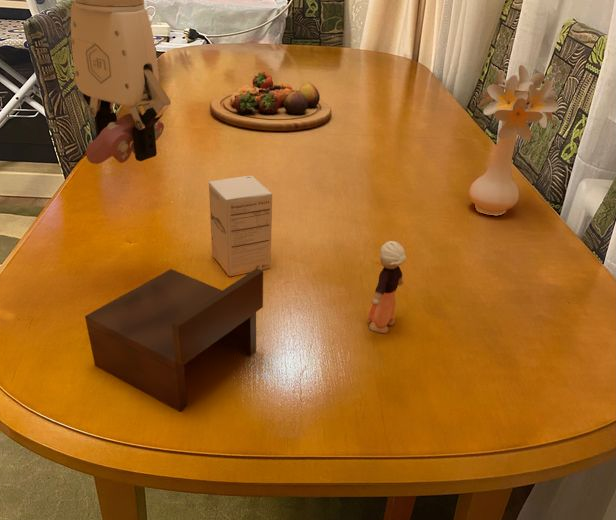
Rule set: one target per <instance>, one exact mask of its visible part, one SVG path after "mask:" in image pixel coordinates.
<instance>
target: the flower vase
mask: <svg viewBox="0 0 616 520" xmlns="http://www.w3.org/2000/svg"><path fill="white" fill-rule="evenodd" d="M505 75H506V69H504V70H503V69H500V70H499V72H498V74H497V76H496V78H495V82H494V84H493V83H492V84H489V85H488V86H487V88H486V90H485V92H484V93H483V94H482V99H483V98H484V99H483V100H482V101H481V102H480V103H479V104H478V105H477V108H479V107H481V106H482V105H485V104H486V103H488V102H490V103H489V104H487V105H486V107H485V108H484V109H483V111H482V113H483V115H485V116H490V115H493V116H494V117H495V119H496V120H498V121H500V122H501V126H500V127H501V128H500V129H499V130H498V135H497V137H498V141H497V144H496V149H495V152H494V155H493V158H492V161H491V163H490V165H489V166H488V168H487V169H486V171H485V172H484V173H483V174H481V175H480V176H479V177H476V179H475V180H473V182H472V183H471V185H470V186H469V189H468V197H469V199H470V201H471V202H472V203H473V204H475V207H476V208H477V209H478V210H479V211H482V212H484V213H488V214H500V213H503V212H505V211H506V210H507V211H508V210H510V209H512V208H513V207H514V206H515V205H517V203H518V201H519V200H520V190H519V186H518V185H517V183H516V181H515V180H514V178H513V174H512V172H513V171H512V161H513V156H514V152H515V151H514V150H515V147H516V142H517V138H518V136H519V138H520V139H522V140H523V141H529V140H530V139H531V137H532V132H531V128H530V125H529V123H530V124H533V123H537V122H538V123H539V125H540V126H541V128H542V129H546V128H547V127H548V120H549V122H550V123H553V113H556V112H557V111H558V110H559V103H558V102H557V101H555V97H556V96H555V95H556V93H555V90H554V89H553V90H552V88H553V85H554V82H555V76H552V79H551V80H549V79H548V80H545V78H546V76H545V73H543V72H542V71H541V72H536V73H534V74H532V76H530V77H529V72H528V69H527V67H526V66H525V65H524V64H519V66H518V76H517V75H515V74H513V75H511V76H510V77H509V78H508V79H505ZM544 80H545V81H544ZM542 83H543V84H542ZM540 85H541V87H539V86H540ZM492 100H494V101H492ZM491 101H492V102H491Z"/></svg>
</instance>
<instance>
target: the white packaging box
mask: <svg viewBox="0 0 616 520" xmlns="http://www.w3.org/2000/svg"><path fill="white" fill-rule="evenodd" d="M208 193H209V194H208V196H209V217H210V219H209V220H210V240H211V241H210V243H211V256H212V257H213V258H214V259H215V261H216V262H217V263H218V264H219V265H220V267H221V268H222V269H223V271H224V272H225V273H226V275H227V276H228V277H235V276H240V275H244V274H249V273H250V272H252V271H254V270H255V269H259V270H262V271H263V270H269V269H271V267H272V227H273V225H272V221H273V192H271V190H269V189H268V188H267V187H266V186H264V185H263V183H261V182H260V181H259V180H258V179H256V178H255V177H254V176H253V175H243V176H236V177H229V178H222V179H215V180H209V181H208Z"/></svg>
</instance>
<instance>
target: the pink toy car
mask: <svg viewBox="0 0 616 520" xmlns="http://www.w3.org/2000/svg"><path fill="white" fill-rule="evenodd" d="M134 128H136V126H135V123H134V120H133V117H132V114H131V113H126V114H124V115H121V116H120V117H119V118H117V121H116V122H110V123H109V124H108V126H107V127H105V128H104V129H103V130H102V131H101V133H100V134H99V135H98V137H97V136H96V138H95V139H93V140H92V141H91V142H90V143H89V144H88V145H87V147H86V149H85V157H86V159H87V161H88V162H89V163H91V164H93V165H97V164H98V165H99V164H103V162H106V161H107V160H109V159H111V158H114V159H115V160H116V161H117V162H118V163H119V164H124V163H126V162H127V161H128V159H130V158H131V155H132V153H133V155H135V151H134V142H133V133H132V131H133V130H132V129H134ZM154 129H155V140H156V141H158V140H159V138H161V136H162V134H163V132H164V129H165V125H164V123H163V122H162V121H161V120H160V119H159V120H158V124H157V125H155V126H154Z"/></svg>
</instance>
